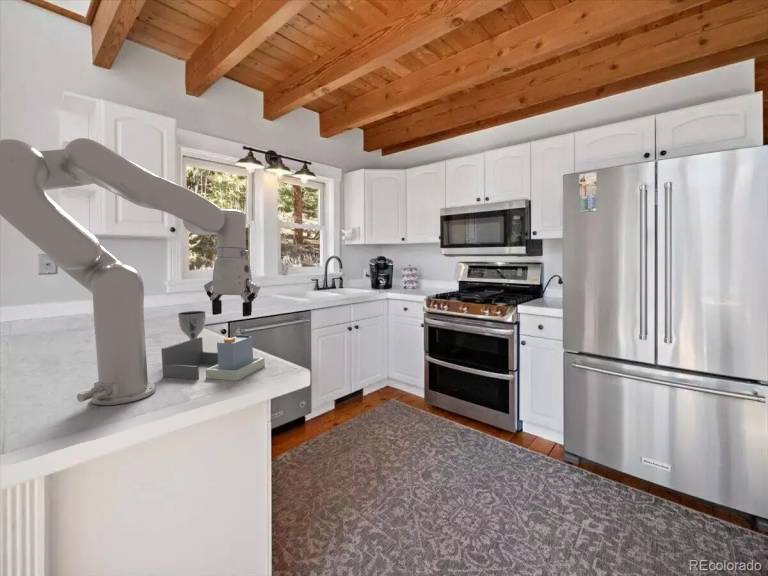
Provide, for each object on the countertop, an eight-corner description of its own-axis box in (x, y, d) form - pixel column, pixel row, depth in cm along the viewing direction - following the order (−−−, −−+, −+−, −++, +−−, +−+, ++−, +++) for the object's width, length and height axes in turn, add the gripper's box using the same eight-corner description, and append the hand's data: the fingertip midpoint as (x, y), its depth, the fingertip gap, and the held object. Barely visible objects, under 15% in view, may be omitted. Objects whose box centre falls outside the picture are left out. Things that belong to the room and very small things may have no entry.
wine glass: (212, 354, 125) (210, 311, 124) (198, 360, 118) (195, 314, 116) (190, 353, 126) (188, 310, 125) (175, 360, 118) (172, 314, 117)
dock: (196, 379, 99) (195, 350, 98) (163, 376, 102) (161, 348, 101) (231, 364, 113) (230, 338, 113) (200, 362, 116) (199, 337, 115)
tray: (236, 380, 98) (236, 371, 98) (206, 378, 100) (205, 369, 100) (264, 366, 111) (264, 357, 111) (236, 364, 113) (236, 356, 113)
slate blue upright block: (253, 366, 109) (252, 333, 108) (234, 375, 101) (232, 340, 100) (238, 365, 110) (237, 333, 110) (218, 374, 102) (216, 339, 101)
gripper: (266, 255, 104) (266, 315, 105) (214, 254, 108) (214, 312, 109) (251, 254, 97) (251, 318, 98) (195, 253, 101) (196, 315, 102)
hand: (231, 315), depth 104 cm, fingers open, 9 cm apart
